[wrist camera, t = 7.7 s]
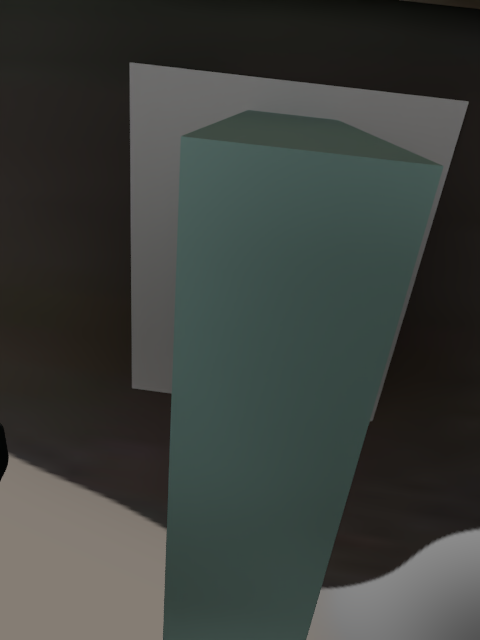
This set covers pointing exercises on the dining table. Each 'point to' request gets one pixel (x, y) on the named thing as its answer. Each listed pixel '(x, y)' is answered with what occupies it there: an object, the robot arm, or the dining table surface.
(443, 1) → the rack
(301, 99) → the grey mat
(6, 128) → the dining table surface
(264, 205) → the teal square block
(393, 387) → the dining table surface
